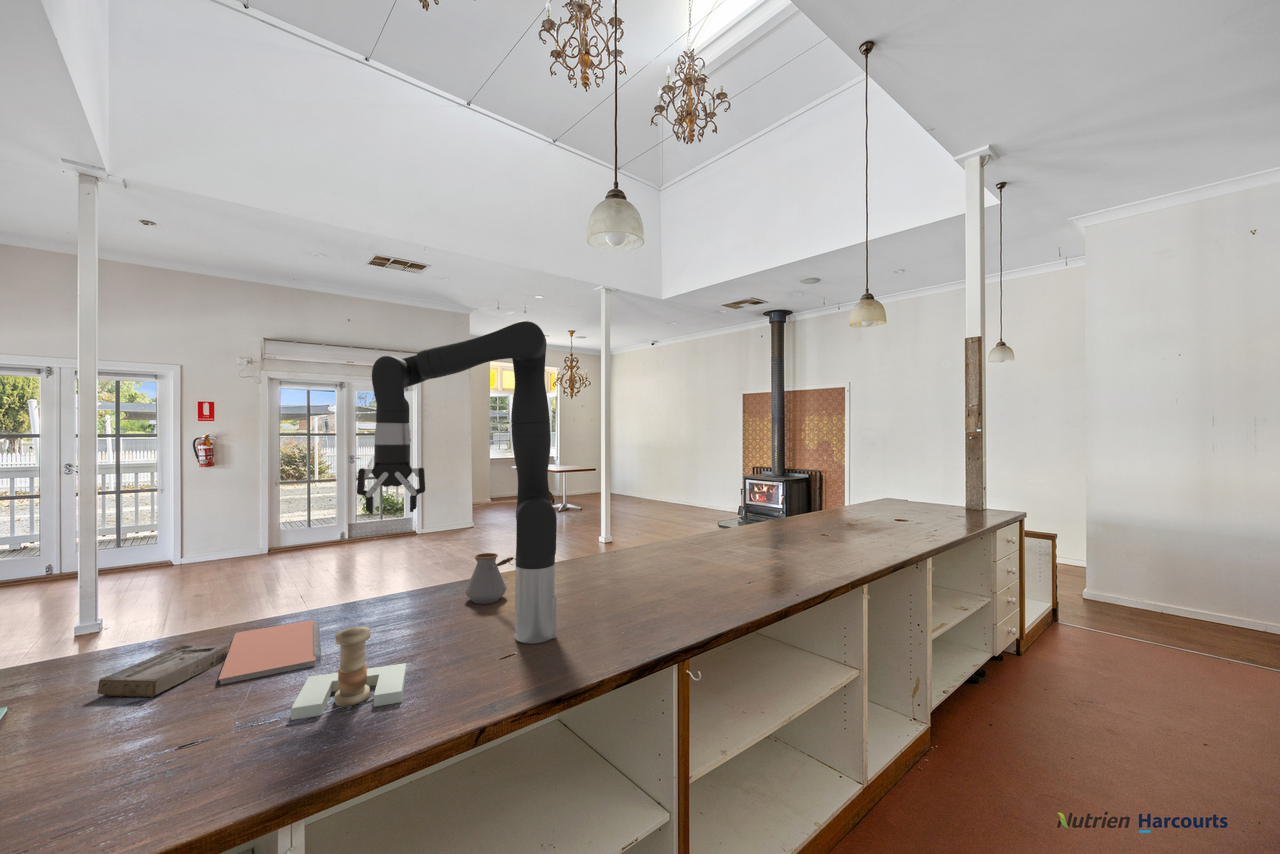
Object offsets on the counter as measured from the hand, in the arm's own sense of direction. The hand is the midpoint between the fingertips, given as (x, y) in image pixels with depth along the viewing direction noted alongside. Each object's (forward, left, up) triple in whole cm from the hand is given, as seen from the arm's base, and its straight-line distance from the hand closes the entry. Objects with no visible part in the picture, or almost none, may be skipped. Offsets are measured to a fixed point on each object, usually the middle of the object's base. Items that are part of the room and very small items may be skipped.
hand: (391, 512), depth 120 cm
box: (+40, +3, -31) cm, 50 cm away
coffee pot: (-25, -20, -30) cm, 44 cm away
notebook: (+23, -4, -31) cm, 39 cm away
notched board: (+4, +24, -30) cm, 39 cm away
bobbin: (+4, +25, -30) cm, 40 cm away
